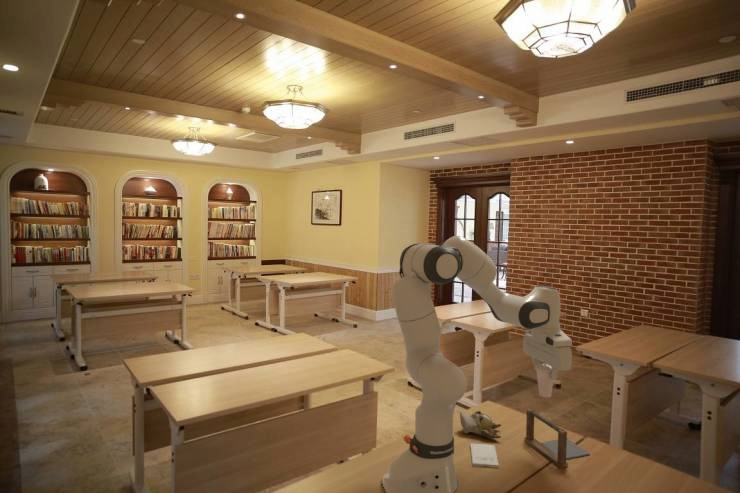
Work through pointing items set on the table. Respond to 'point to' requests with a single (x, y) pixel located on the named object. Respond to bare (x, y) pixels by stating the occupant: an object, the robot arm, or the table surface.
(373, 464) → the table surface
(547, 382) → the smoothie
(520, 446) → the table surface
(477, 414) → the ceramic sculpture
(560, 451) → the bar hurdle
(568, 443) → the mat
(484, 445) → the external hard drive
